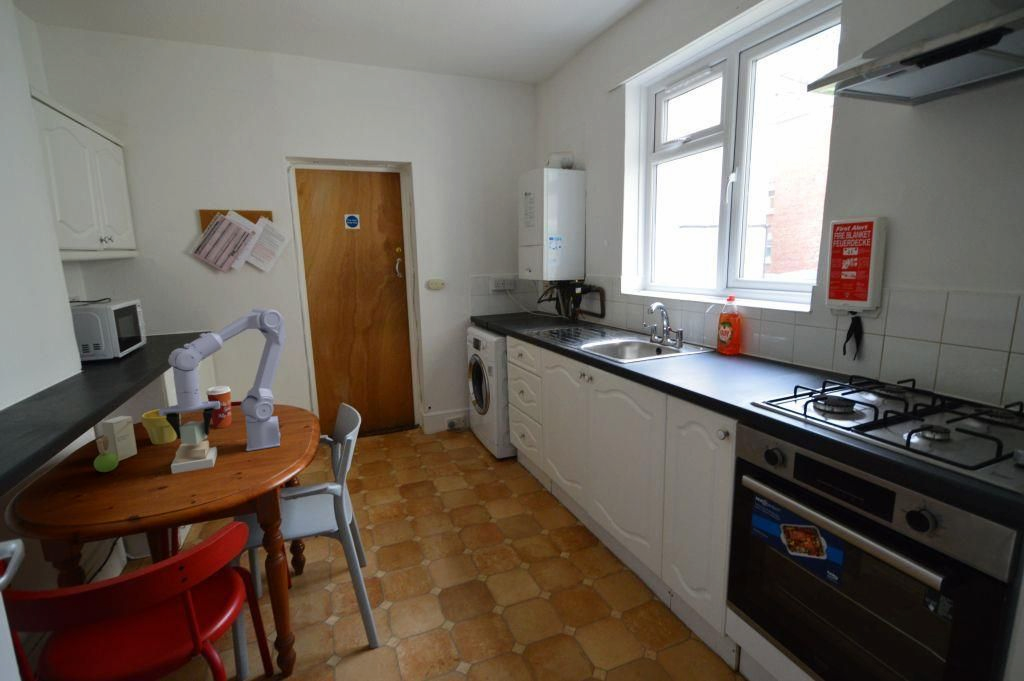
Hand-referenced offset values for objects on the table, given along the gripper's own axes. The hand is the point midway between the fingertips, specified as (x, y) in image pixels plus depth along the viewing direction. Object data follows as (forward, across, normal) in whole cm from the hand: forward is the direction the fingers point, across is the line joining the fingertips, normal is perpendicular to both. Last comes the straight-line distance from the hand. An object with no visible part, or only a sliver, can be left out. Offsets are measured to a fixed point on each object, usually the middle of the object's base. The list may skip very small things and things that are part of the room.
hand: (193, 435), depth 141 cm
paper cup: (+9, -4, -35) cm, 36 cm away
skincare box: (+9, +22, -17) cm, 29 cm away
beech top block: (+6, +1, -1) cm, 7 cm away
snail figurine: (+9, +23, -6) cm, 25 cm away
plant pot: (+9, +12, -27) cm, 31 cm away
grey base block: (+10, +1, -1) cm, 10 cm away
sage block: (+2, 0, 0) cm, 2 cm away
